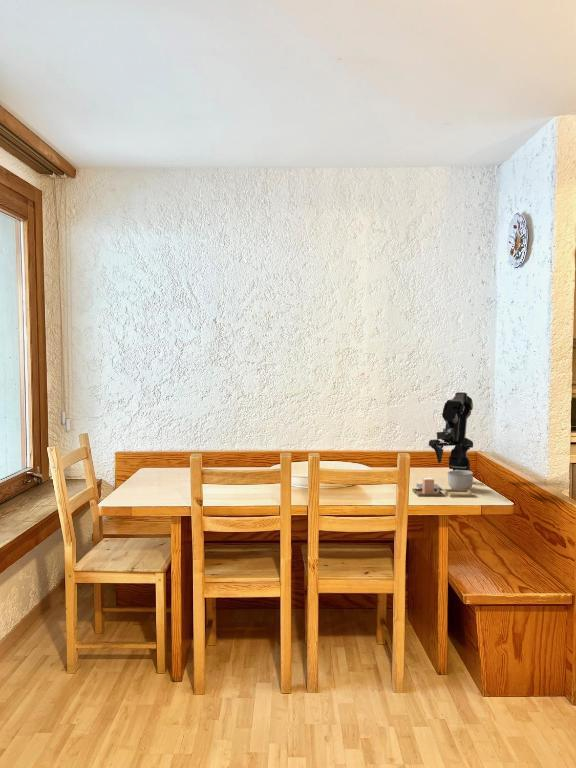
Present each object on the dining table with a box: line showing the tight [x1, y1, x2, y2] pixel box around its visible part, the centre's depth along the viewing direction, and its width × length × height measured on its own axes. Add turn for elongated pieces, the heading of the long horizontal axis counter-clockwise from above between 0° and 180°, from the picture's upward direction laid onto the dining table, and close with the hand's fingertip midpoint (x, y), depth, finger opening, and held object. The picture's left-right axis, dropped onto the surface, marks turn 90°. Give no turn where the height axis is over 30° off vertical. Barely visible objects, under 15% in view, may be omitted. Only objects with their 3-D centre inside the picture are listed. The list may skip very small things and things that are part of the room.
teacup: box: [447, 470, 474, 490], centre depth 292 cm, size 14×11×8 cm
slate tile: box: [416, 483, 443, 492], centre depth 290 cm, size 9×9×2 cm
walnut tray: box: [412, 488, 445, 498], centre depth 279 cm, size 11×11×2 cm
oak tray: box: [442, 488, 477, 498], centre depth 279 cm, size 11×11×2 cm
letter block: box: [421, 477, 435, 494], centre depth 279 cm, size 4×4×6 cm
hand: (448, 463), depth 281 cm, fingers open, 9 cm apart
